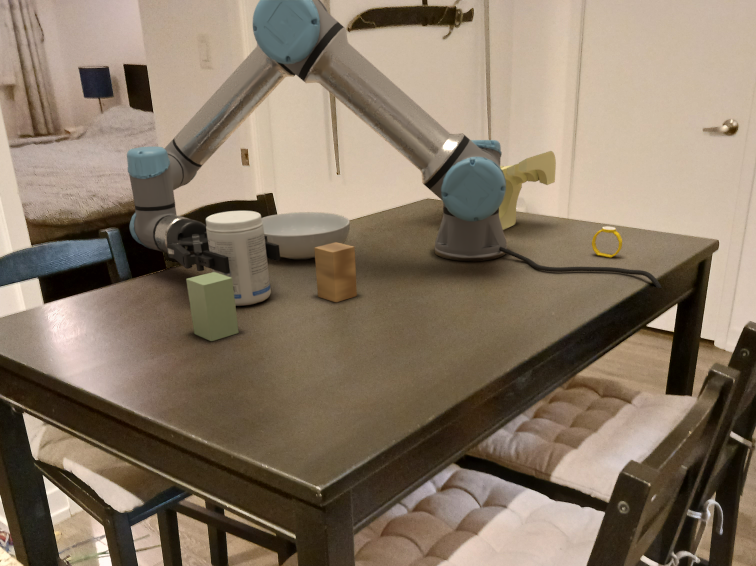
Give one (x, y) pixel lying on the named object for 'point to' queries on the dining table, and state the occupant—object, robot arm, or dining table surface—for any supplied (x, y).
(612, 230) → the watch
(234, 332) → the sage block
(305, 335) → the dining table surface
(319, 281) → the beech block
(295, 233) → the serving bowl
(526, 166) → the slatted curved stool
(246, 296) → the supplement tub
